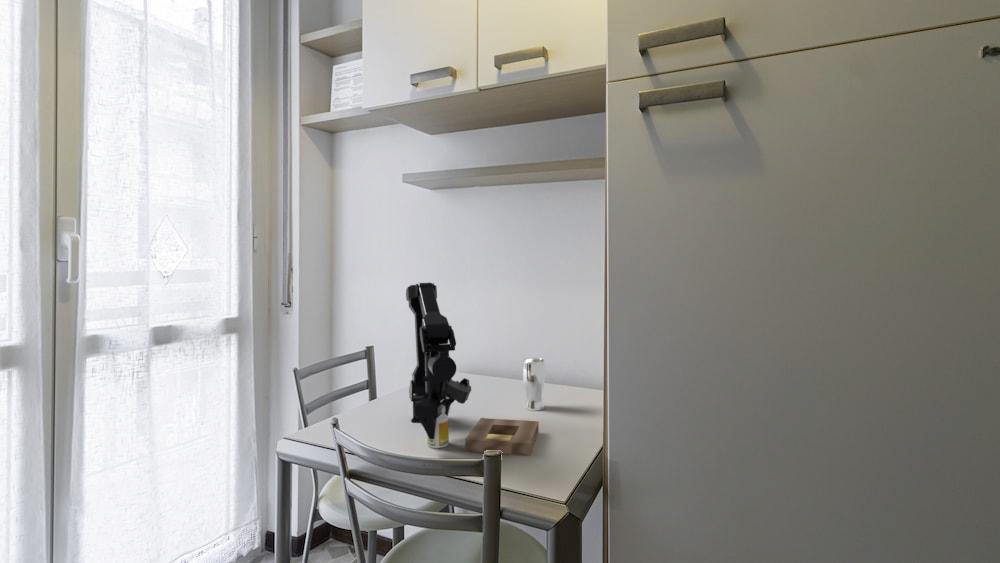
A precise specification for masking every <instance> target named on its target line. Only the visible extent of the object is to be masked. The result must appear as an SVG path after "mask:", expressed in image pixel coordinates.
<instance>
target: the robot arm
mask: <svg viewBox="0 0 1000 563" xmlns="http://www.w3.org/2000/svg"><path fill="white" fill-rule="evenodd" d="M405 290H406V291H405V299H406V301H407V303H408V308H409V309H410V311H411V312H412V314H413V315H414V327H415V328H414V330H415V332H414V333H415V334H414V335H415V348H416V353H415V354H416V366H415V368H414V370H413V372H412V373H411V380H410V381H409V387H408V395H409V396H408V397H409V399H410V402H411V403H412V418H411V419H410V422H412V423H421V426H422V427H423V429H424V431H425V434H426V436H427V435H428V437H429V439H434V436H435V429H436V421H437V418H438V417H439V416H440V415H441V414H442V412H441V411H442V405H443V406H445V413H444V414H446V415H447V416H448V417H449V412H450V409H451V405H452V404H453V403H455V401H456V402H457V403H458V404H465V403H466V401H467V400H469V396H470V393H471V392H472V385H470V379H468V378H462V379H461V380H460V381H459V380H456V381H455V380H453V379H452V378H453V377H454V376H455V375H456V372H457V365H456V362H455V361H454V359H453V358H452V357H451V356H450V352H451V351H453V352H454V351H456V346H457V340H456V337H455V331H454V329H453V328H452V326H451V325H450V323H449V321H448V318H447V317H446V316H444V315H443V314H441V312H440V307H439V304H438V300H437V299H438V289H437V285H435V283H434V282H418V283H416V284H410V285H409V286H407V288H406V289H405Z"/></svg>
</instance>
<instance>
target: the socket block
mask: <svg viewBox="0 0 1000 563" xmlns="http://www.w3.org/2000/svg"><path fill="white" fill-rule="evenodd" d="M539 422H540V421H539V420H525V419H524V420H523V419H522V420H521V419H520V420H519V419H505V418H504V419H502V418H487V417H486V418H485V417H480V419H478V421H477V423H476V424H475V425H474V427H472V429H471V431H470V432H469V433H468V435H467V436H466V438H465V441H464V448H465V449H464V450H465V452H468V451H471V452H470V453H481V454H483V452H484V451H486V450H501V451H502V452H503V454H502V455H513V456H525V457H530V456H531V455H532V453H533V452H532V451H533V449H534V446H535V443H536V442H537V438H538V435H539V429H540V427H539V425H540V424H539Z"/></svg>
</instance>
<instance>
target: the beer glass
mask: <svg viewBox="0 0 1000 563" xmlns="http://www.w3.org/2000/svg"><path fill="white" fill-rule="evenodd" d="M522 362H523V365H522V380H523V381H522V382H523V387H524V392H525V393H524V394H525V403H524V409H525V410H527V411H530V412H531V411H532V412H533V411H535V412H537V411H542V410H544V408H545V406H544V400H543V399H544V397H543V396H544V395H543V393H544V389H545V382H546V365H545V364H546V363H545V359H543V358H537V357H530V358H524V359H523V361H522Z"/></svg>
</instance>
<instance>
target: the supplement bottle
mask: <svg viewBox="0 0 1000 563" xmlns="http://www.w3.org/2000/svg"><path fill="white" fill-rule="evenodd" d="M441 412H442V414H441V415H440V416H439V417H438V418H437V421H436V429H435V436H434V439H429V437H428V435H427V434H426V440H427V442H426V443H427V446H428V447H429V448H431V449H441V448H445V447H447V446H448V445H449V443H450V441H449V437H450V436H449V415H448V416H447V415H446V414H444V413H445V406H443V405H442V411H441Z"/></svg>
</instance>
